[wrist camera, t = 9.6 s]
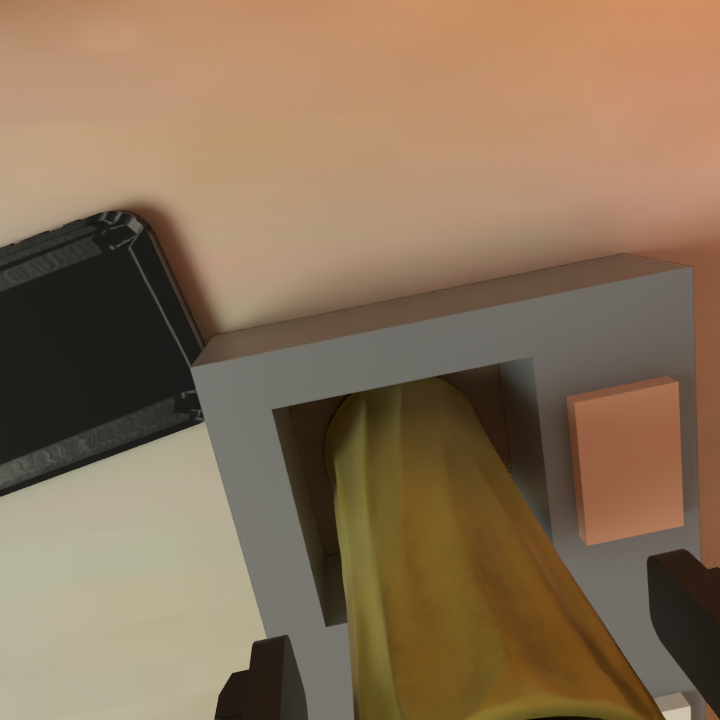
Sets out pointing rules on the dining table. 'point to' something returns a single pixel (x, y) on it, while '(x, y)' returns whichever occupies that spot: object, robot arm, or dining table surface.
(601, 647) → the vase
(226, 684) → the robot arm
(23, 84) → the dining table surface
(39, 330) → the phone
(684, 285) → the socket block
